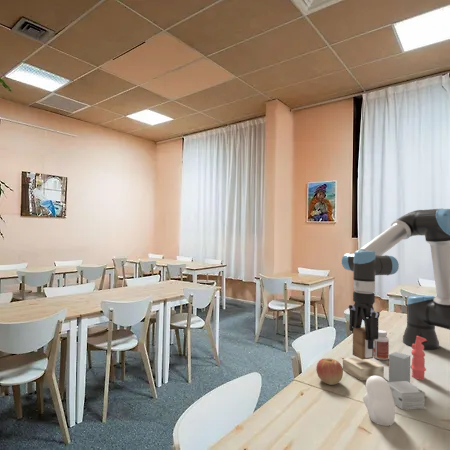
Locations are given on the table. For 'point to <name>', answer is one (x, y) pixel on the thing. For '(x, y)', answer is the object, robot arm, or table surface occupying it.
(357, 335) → the walnut pillar
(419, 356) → the figurine
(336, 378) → the apple
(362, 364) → the birch base
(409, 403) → the small box
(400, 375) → the slate pillar
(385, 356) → the pill bottle
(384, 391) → the figurine
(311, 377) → the table surface
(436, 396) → the table surface
